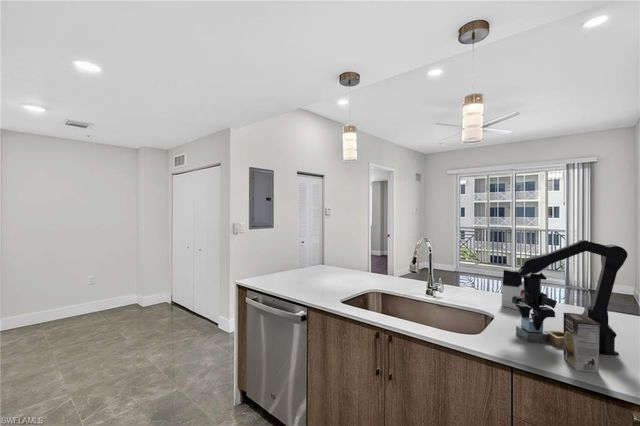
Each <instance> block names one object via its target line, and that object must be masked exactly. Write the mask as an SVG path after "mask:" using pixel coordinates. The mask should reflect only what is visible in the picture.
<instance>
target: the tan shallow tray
mask: <svg viewBox="0 0 640 426" xmlns="http://www.w3.org/2000/svg"><path fill="white" fill-rule="evenodd" d="M543 331H544V332H546V333H548V334H549V343H550V344H552V345H553V346H555V347H558V348H559V347H560V348H564V345H563V344H564V343H563V342H564V330H543Z"/></svg>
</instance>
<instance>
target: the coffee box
mask: <svg viewBox="0 0 640 426" xmlns="http://www.w3.org/2000/svg"><path fill="white" fill-rule="evenodd" d="M563 332H564V342H563V343H564V344H563V345H564V347H563V354H562V355H563V358H564V360H566V361H567V362H568V363H569V364H570V365H571V367H573V369H575V370H576V371H581V372H590V373H596V374H598V373H599V367H600V366H599V362H600V361H599V359H600V356H599V355H600V354H599V323H597V322H595V321H594V320H592V319H591V318H589V317H587V316H586V315H584V314H583V313H581V314H579V313H574V312H573V313H572V312H563Z"/></svg>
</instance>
